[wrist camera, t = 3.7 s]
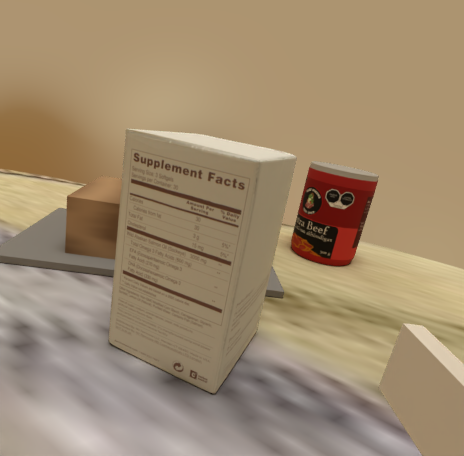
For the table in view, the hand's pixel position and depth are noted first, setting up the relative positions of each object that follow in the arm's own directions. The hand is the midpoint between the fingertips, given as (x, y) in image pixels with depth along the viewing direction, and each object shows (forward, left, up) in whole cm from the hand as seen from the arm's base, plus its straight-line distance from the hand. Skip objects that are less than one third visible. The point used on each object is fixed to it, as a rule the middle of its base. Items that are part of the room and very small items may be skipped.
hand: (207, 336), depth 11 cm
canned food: (-16, -30, -7) cm, 34 cm away
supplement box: (0, -10, -7) cm, 12 cm away
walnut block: (+6, -24, -6) cm, 25 cm away
